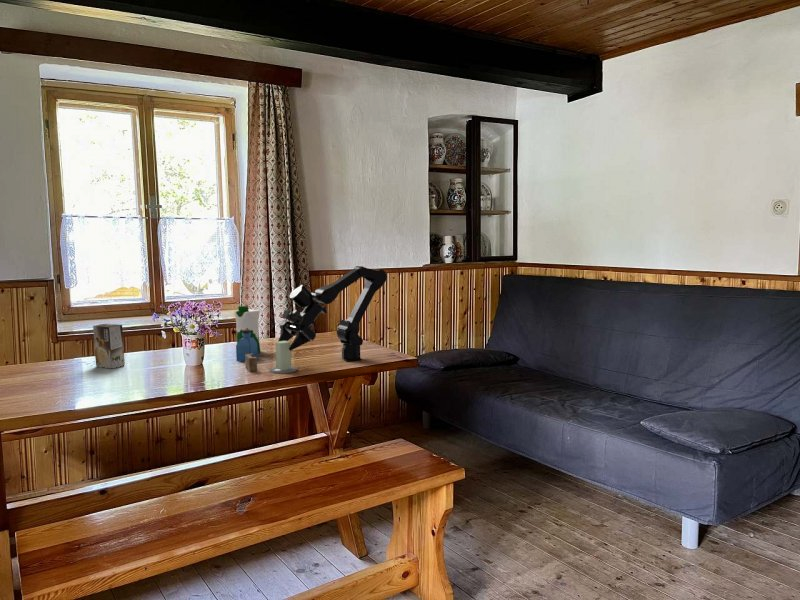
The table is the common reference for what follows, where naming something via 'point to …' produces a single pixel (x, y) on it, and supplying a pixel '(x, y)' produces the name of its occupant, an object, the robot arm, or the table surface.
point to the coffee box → (109, 345)
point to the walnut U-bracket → (250, 362)
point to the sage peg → (283, 355)
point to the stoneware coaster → (283, 370)
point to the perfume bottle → (246, 346)
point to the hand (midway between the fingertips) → (283, 348)
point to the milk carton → (247, 323)
